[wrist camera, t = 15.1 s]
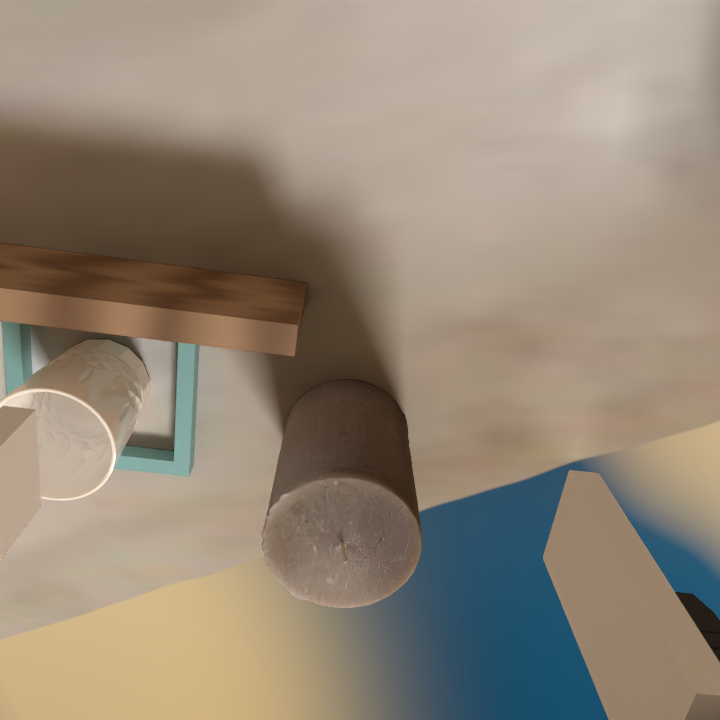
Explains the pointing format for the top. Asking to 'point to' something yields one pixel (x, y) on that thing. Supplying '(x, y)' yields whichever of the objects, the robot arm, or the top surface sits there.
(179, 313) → the brown wooden board
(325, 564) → the pillar candle
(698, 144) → the top surface
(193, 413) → the keeper frame
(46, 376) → the white cup
